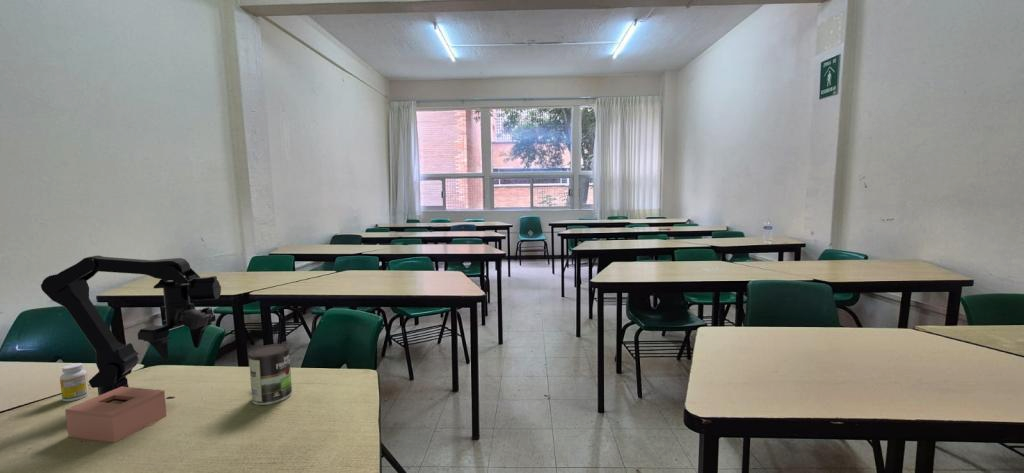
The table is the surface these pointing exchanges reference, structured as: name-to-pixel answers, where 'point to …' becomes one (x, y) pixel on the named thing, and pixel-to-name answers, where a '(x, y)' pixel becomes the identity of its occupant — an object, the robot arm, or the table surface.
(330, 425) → the table surface
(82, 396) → the supplement bottle
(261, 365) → the coffee can
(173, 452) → the table surface
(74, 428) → the coin box
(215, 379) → the table surface
